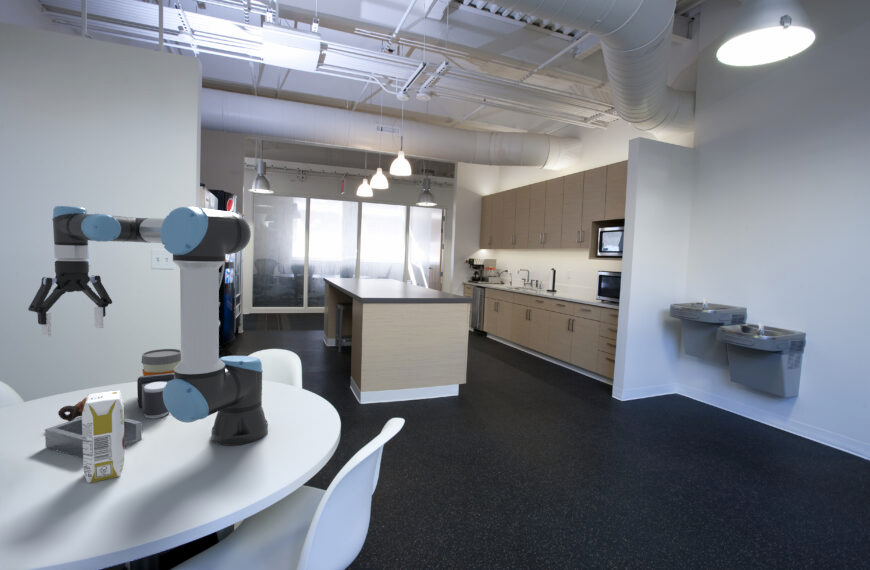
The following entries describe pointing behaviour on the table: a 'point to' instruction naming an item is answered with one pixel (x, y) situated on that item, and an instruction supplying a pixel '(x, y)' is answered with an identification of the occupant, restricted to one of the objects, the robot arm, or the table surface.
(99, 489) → the table surface
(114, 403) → the juice carton
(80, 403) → the brown ring with handle
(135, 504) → the table surface
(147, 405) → the wireless charger stand
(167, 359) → the reusable coffee cup
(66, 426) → the dock
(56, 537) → the table surface
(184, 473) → the table surface
